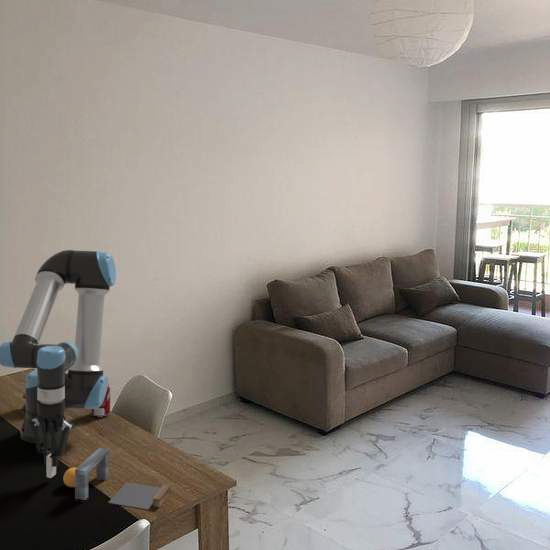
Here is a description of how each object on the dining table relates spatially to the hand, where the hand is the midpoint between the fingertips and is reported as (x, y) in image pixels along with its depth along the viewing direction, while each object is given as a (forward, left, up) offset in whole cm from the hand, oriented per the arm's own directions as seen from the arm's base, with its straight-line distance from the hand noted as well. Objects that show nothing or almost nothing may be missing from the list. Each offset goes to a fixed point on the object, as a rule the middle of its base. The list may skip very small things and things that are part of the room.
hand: (51, 475), depth 183 cm
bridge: (+13, 0, -2) cm, 13 cm away
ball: (+7, 0, +1) cm, 7 cm away
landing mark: (+27, 0, -2) cm, 27 cm away
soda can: (-10, +50, -2) cm, 51 cm away
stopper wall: (+35, 0, -2) cm, 35 cm away
